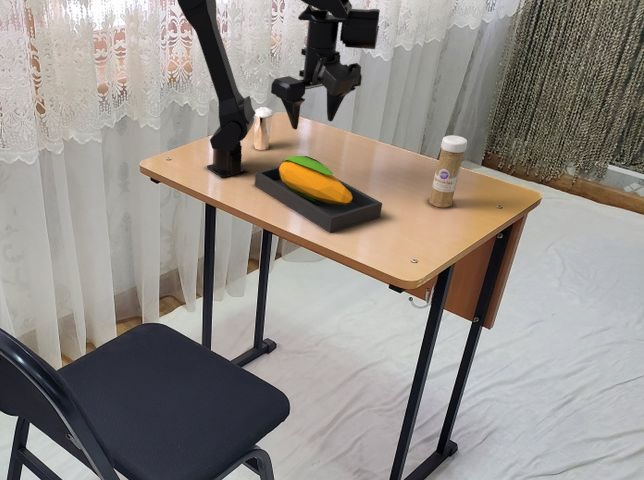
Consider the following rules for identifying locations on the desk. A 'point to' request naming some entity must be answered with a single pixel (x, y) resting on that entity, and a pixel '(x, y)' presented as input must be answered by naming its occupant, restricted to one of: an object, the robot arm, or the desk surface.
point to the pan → (320, 203)
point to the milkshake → (262, 127)
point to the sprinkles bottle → (447, 170)
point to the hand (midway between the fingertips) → (312, 124)
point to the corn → (313, 180)
